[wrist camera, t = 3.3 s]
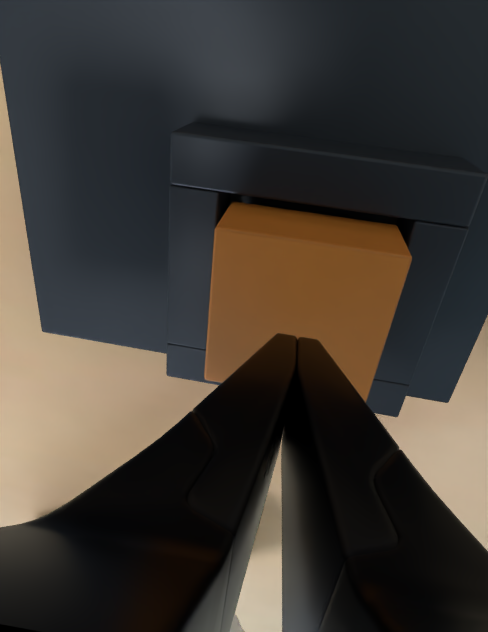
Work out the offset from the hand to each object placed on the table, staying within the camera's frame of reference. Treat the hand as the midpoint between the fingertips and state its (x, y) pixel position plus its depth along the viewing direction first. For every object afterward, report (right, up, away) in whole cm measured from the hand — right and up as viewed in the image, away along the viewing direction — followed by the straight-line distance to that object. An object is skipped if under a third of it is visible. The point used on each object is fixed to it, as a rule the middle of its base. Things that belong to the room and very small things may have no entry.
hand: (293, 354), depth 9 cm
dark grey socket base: (0, +5, +5) cm, 7 cm away
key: (0, +2, +3) cm, 3 cm away
